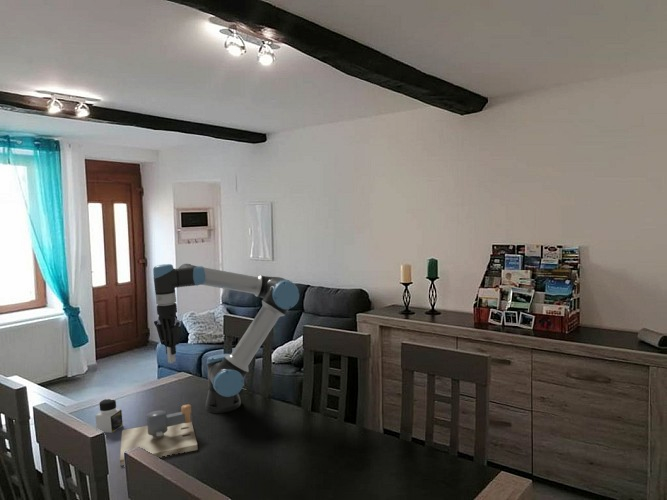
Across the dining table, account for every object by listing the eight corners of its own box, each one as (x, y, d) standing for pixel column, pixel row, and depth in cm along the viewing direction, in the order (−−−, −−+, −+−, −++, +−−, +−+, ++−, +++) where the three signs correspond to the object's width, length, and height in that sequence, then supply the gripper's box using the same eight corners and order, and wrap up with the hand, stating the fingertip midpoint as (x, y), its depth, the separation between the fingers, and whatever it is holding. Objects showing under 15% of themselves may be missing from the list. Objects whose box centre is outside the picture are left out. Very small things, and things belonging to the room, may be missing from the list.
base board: (190, 422, 207) (190, 413, 207) (197, 449, 183) (196, 439, 182) (122, 435, 198) (121, 425, 197) (120, 465, 173) (119, 454, 173)
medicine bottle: (112, 433, 200) (109, 403, 199) (96, 432, 202) (93, 403, 200) (123, 425, 207) (120, 397, 206) (107, 424, 208) (105, 396, 207)
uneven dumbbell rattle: (194, 427, 191) (193, 409, 191) (149, 438, 184) (148, 419, 183) (189, 418, 200) (188, 401, 199) (146, 428, 192) (144, 410, 192)
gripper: (146, 305, 197) (152, 363, 200) (172, 306, 192) (178, 366, 194) (160, 301, 204) (166, 358, 206) (185, 302, 199) (191, 360, 201)
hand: (172, 362), depth 200 cm, fingers closed
